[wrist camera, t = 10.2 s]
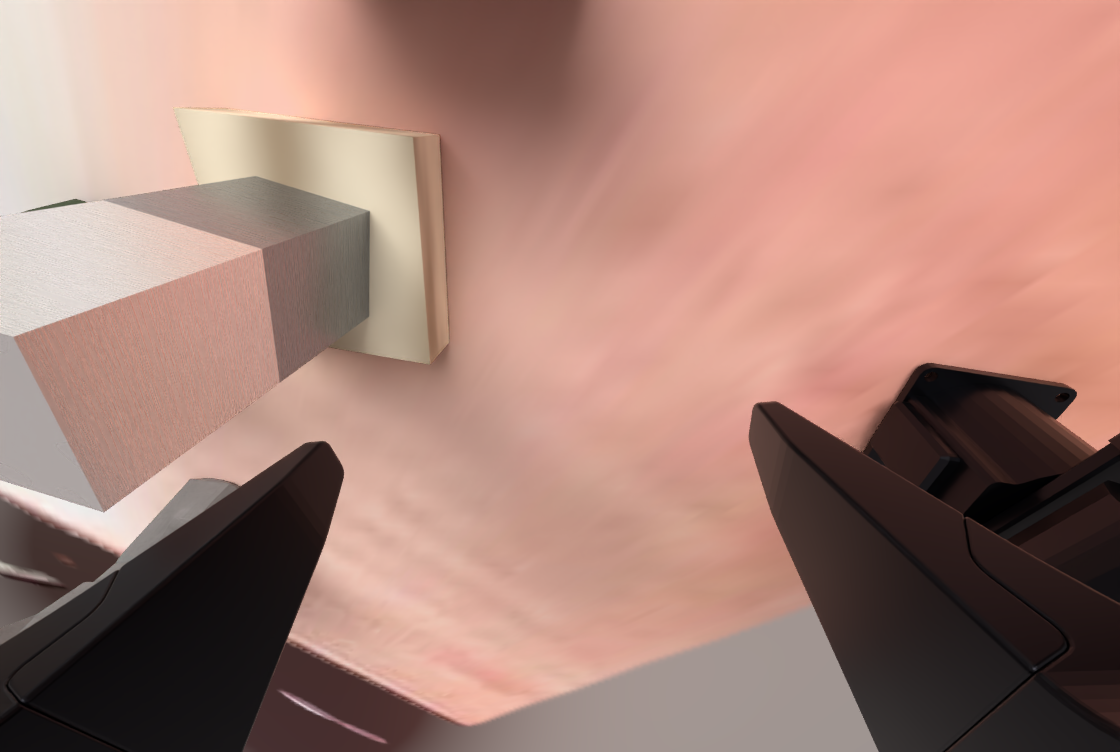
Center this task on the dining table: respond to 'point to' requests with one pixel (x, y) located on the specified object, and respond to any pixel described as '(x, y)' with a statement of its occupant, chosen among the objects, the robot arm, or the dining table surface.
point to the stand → (359, 180)
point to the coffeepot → (145, 537)
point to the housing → (162, 323)
